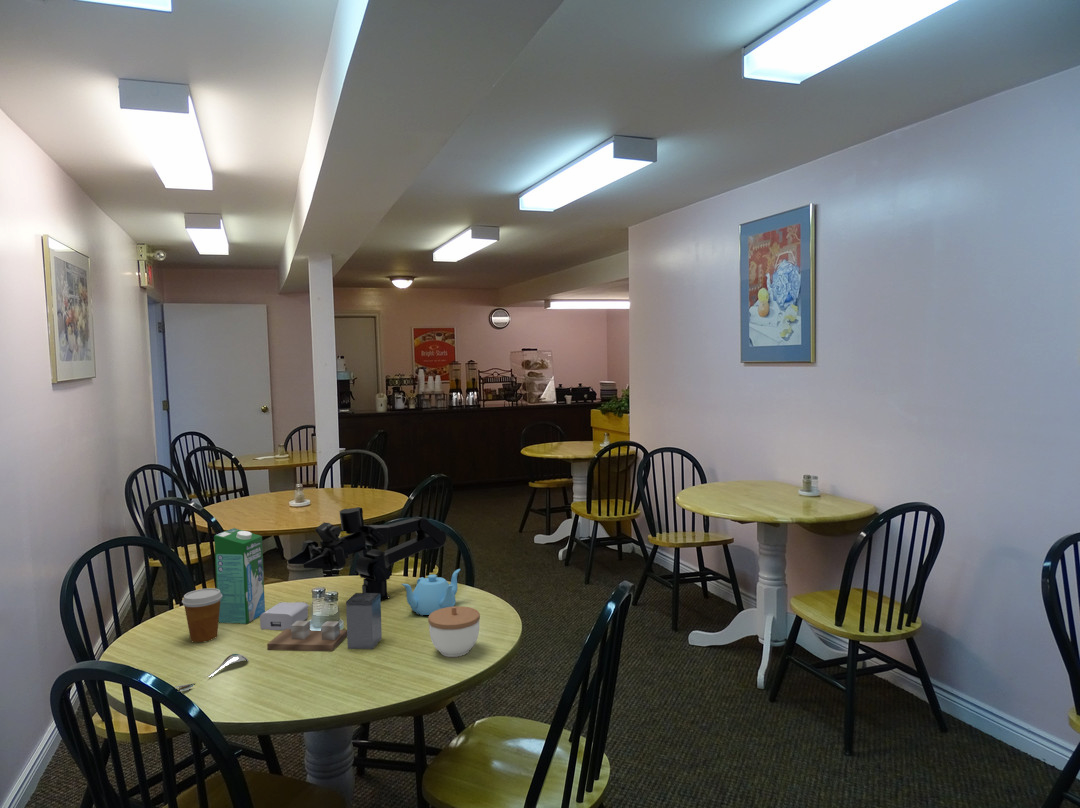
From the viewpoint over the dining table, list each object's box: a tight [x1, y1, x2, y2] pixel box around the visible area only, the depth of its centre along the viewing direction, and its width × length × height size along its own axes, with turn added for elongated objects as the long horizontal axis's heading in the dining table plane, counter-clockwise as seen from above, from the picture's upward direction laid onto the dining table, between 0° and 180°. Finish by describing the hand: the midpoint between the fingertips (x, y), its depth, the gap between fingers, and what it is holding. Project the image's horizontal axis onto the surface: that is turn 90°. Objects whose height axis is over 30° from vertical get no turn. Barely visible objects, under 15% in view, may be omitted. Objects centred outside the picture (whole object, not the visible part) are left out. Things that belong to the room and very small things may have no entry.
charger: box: [259, 601, 310, 631], centre depth 189 cm, size 5×9×15 cm
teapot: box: [401, 568, 461, 616], centre depth 195 cm, size 15×15×10 cm
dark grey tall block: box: [345, 592, 383, 650], centre depth 171 cm, size 7×7×12 cm
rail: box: [266, 620, 347, 652], centre depth 173 cm, size 17×10×5 cm, turn 85°
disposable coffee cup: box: [181, 587, 222, 643], centre depth 177 cm, size 10×10×12 cm
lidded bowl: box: [427, 605, 481, 658], centre depth 166 cm, size 13×13×11 cm
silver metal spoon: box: [175, 653, 249, 692], centre depth 154 cm, size 20×4×5 cm
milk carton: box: [213, 527, 266, 625], centre depth 191 cm, size 9×9×25 cm
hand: (295, 564), depth 187 cm, fingers open, 9 cm apart
